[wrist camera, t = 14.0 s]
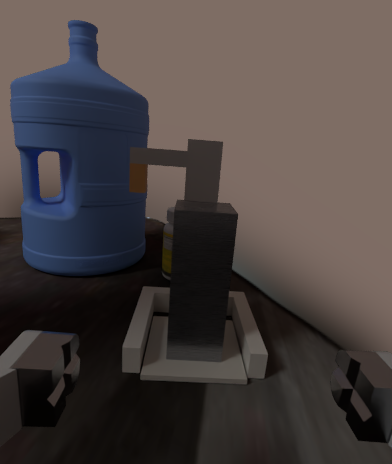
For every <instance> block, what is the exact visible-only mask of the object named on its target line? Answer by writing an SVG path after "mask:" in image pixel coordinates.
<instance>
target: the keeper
mask: <svg viewBox="0 0 392 464" xmlns="http://www.w3.org/2000/svg"><path fill="white" fill-rule="evenodd" d="M222 147H223V142H217V141H205V140H192V139H188V151H177V150H164V149H151V148H138V147H130V182H129V192H136V193H145V192H146V191H147V167H148V164H149V165H163V166H176V167H186V182H185V199H184V200H188V201H202V202H216V203H217V201H218V191H219V180H220V170H221V159H222ZM169 297H170V288H164V287H147V286H143V289H142V292H141V295H140V298H139V301H138V303H137V306H136V309H135V312H134V315H133V318H132V321H131V324H130V327H129V329H128V332H127V335H126V338H125V341H124V344H123V347H122V372H128V373H140V369H141V365H142V360H143V356H144V352H145V347H146V343H147V338H148V334H149V330H150V325H151V321H152V316H153V312H169ZM227 316H231V317H232V320H233V321H232V320H226V324H225V333H224V342H223V351H222V359H221V362H206V361H186V360H167V359H166V352H167V334H168V317H163V316H153V321H152V325H151V330H150V334H149V339H148V343H147V348H146V352H145V357H144V361H143V366H142V370H141V375H140V380H158V381H180V382H202V383H224V384H247V378H258V379H264V376H265V370H266V364H267V358H268V353H267V350H266V348H265V345H264V343H263V340H262V338H261V335H260V332H259V330H258V327H257V325H256V322H255V320H254V317H253V314H252V312H251V309H250V307H249V304H248V302H247V299H246V296H245V294H244V292H233V291H229V298H228V307H227ZM233 324H234V325H233ZM234 328H235V329H234ZM235 332H236V333H235ZM236 336H237V337H236ZM237 340H238V341H237ZM238 344H239V345H238ZM239 348H240V349H239ZM244 367H245V368H244ZM245 371H246V372H245ZM246 375H247V376H246Z"/></svg>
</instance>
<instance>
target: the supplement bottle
mask: <svg viewBox="0 0 392 464" xmlns="http://www.w3.org/2000/svg"><path fill="white" fill-rule="evenodd" d="M174 209H175V207H171V208H169V209H168V211H167V221H168V222H169V223H167V224H166V225H165V226H164V231H163V258H162V275H163V276H164V277H165V278H166V279H168V280H170V279H171V261H172V243H173V225H174Z"/></svg>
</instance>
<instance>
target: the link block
mask: <svg viewBox="0 0 392 464" xmlns="http://www.w3.org/2000/svg"><path fill="white" fill-rule="evenodd" d="M237 219H238V213H237V212H236V211H235V210H234V208H233V207H232V206H231V204H230V203H216V202H202V201H188V200H177V203H176V206H175V209H174V225H173V243H172V261H171V279H170V297H169V315H168V334H167V352H166V359H167V360H186V361H206V362H221V359H222V351H223V342H224V333H225V324H226V316H227V307H228V298H229V289H230V281H231V272H232V263H233V254H234V246H235V236H236V228H237Z"/></svg>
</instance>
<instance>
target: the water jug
mask: <svg viewBox="0 0 392 464" xmlns="http://www.w3.org/2000/svg"><path fill="white" fill-rule="evenodd" d="M68 27H69V29H70V38H69V46H70V58H69V61H68V62H67V63H66V64H63V65H60V66H56V67H53V68H50V69H47V70H43V71H40V72H37V73H33V74H30V75H27V76H24V77H21V78H17V79H15V80H14V81H13V82H12V83H11V100H10V102H11V104H10V106H11V117H12V122H13V123H14V133H15V134H14V135H15V145H16V147H17V148H18V149H19V151H20V157H21V168H22V169H21V170H22V182H23V194H24V203H23V204H22V206H21V217H22V229H23V243H22V245H23V256H24V259H25V261H26V262H27V263H28V264H29V265H30V266H32V267H33V268H35V269H37V270H39V271H42V272H46V273H50V274H55V275H63V276H92V275H101V274H107V273H112V272H116V271H119V270H122V269H125V268H128V267H130V266H132V265H134V264H135V263H137V262H138V261H139V260H140V259H141V258H142V257H143V255H144V253H145V244H146V239H145V207H146V198H147V191H146V192H145V193H136V192H129V182H130V147H138V148H147V137H148V133H149V115H148V101H147V100H146V98H145V97H143V96H142V95H140V94H139V93H137V92H135V91H134V90H133V89H131V88H129V87H128V86H126V85H125V84H123V83H122V82H120V81H119V80H117V79H116V78H114V77H112V76H111V75H109V74H108V73H106V72H105V71H103V70H102V69H101V68H100V67H99V65H98V62H97V51H98V44H97V42H96V34H97V33H98V29H97V27H96V26H94V25H93V24H91V23H88V22H85V21H79V20H71V21H69V22H68ZM44 151H54V152H58V153H59V158H60V177H61V178H60V179H61V192H60V194H59V195H58V196H56V197H50V198H41V197H40V189H39V174H38V156H39V154H40V153H42V152H44Z"/></svg>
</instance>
